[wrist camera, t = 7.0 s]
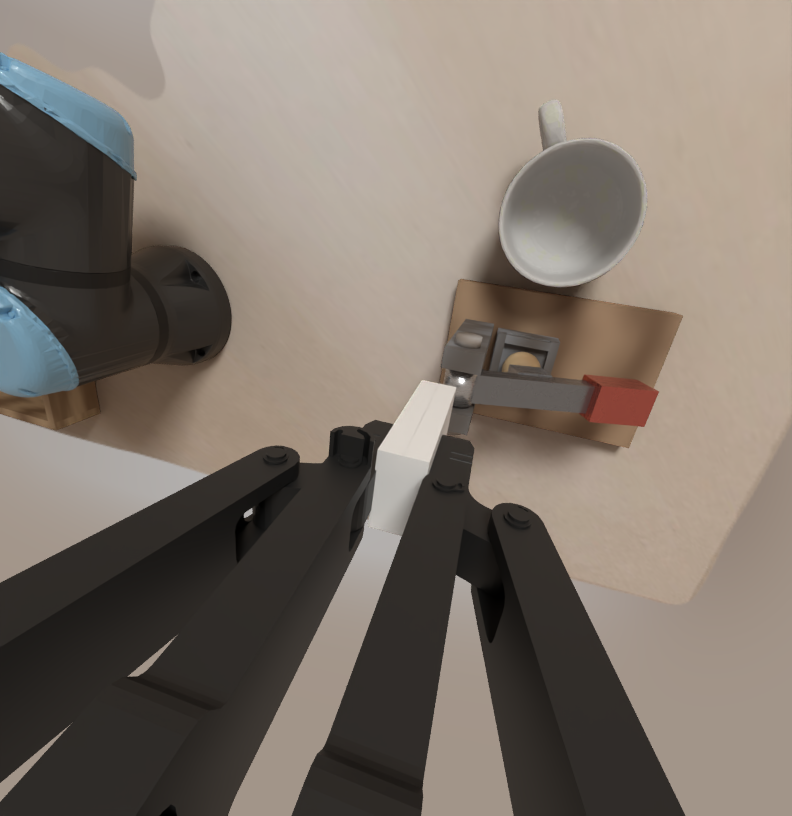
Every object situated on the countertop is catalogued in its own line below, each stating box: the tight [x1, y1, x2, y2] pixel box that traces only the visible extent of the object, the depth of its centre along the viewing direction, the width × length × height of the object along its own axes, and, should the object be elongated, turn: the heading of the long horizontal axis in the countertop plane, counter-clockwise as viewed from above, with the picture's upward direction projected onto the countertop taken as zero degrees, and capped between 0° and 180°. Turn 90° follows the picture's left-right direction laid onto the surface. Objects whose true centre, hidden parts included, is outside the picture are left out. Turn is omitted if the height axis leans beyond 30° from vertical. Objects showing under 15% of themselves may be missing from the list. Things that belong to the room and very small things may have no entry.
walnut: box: [502, 352, 541, 372], centre depth 39 cm, size 4×4×4 cm
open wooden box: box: [0, 381, 100, 430], centre depth 60 cm, size 24×20×7 cm
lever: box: [443, 364, 659, 427], centre depth 34 cm, size 17×3×5 cm, turn 82°
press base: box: [440, 279, 683, 448], centre depth 36 cm, size 21×14×16 cm, turn 82°
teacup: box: [499, 99, 647, 287], centre depth 35 cm, size 14×11×8 cm
